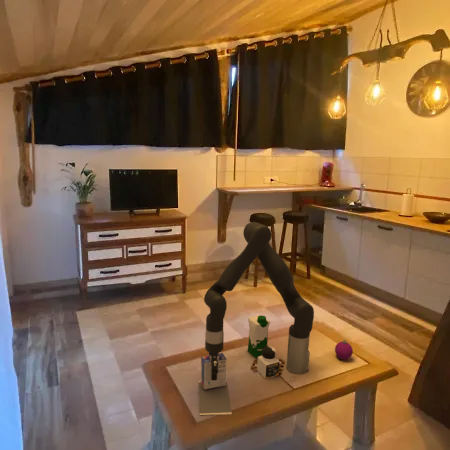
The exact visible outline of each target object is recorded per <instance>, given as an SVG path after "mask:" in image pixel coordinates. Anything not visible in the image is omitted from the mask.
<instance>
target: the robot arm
mask: <svg viewBox="0 0 450 450" xmlns="http://www.w3.org/2000/svg"><path fill="white" fill-rule="evenodd" d="M272 234H273V233H272V231H271V229H270V227H268V226H267V225H264V224H262V223H260V222H256V221H254V222H253V221H252V222H248V223H247V224H246V225H244V229H243V238H244V240H245V241H246V243H247V244H246V246H245V247H244V249H243V250H242V251H241V252H240V254H238V256H237V257H235V258H234V259H232V261H231V262H230V263H229V264H228V265H227V266H226V267H225V269H224V270H223V272H222V273H221V275H220V277H219V278H218V280H216V282H214V283H213V284H212V285H211V286H210V287H209V288H208V290H206V292H205V295H204V297H203V301H204V304H205V305H206V306H207V307H208V308H209V314H207V315H206V318H205V333H204V337H205V339H204V342H205V343H204V349H205V351H206V352H207V353H208V356H209V358H210V362H211V359H212V364H211V363H210V366H211V373H212V376H211V379H212V380H217V374H218V366H219V353H222V352H223V350H224V338H225V337H224V336H225V335H224V334H225V333H224V319H225V315H226V312H227V309H228V308H227V305H228V304H227V300H226V298H225V296H224V294H226V292H232V291H233V290H234V288H236V286H237V285H238V283H239V282H240V280H241V278H242V276H243V275H244V273H245V272H246V270H247V269H248V268H249V267H250V266H251V264H252V263H253V262H254V260H256V258H257V259H258V261H259V263H260V264H261V266H262V268H263V270H264V271H265V273H266V275H267V277H268V278H269V280H270V282H271V283H272V285H273V286H274V288H275V289H276V291H277V292H278V293H279V295H280V297H281V298H282V300H283V302H284V304H285V307H286V309H287V311H288V313H289V315H290V316H291V317H293V318H294V319H293V324H291V325H289V328H288V340H287V354H286V355H287V356H286V365H285V366H286V369H287V370H288V372H290V373H293V374H296V375H297V374H298V375H300V374H304V373H306V372H309V364H310V354H311V353H310V351H309V348H310V336H311V332H312V330H313V324H314V316H315V310H314V307H313V306H312V305H311V304H310V303H309V302H308V301H307V300H306V299H305V298H303V297H302V296H301V295H300V293H299V292H298V290H297V288H296V286H295V284H294V283H295V281H294V277H293V274H292V272H291V270H290V268H289V267H288V264H287V263H286V262H285V261H284V259H283V258H282V257H281V255H279V253H278V252H277V251H275V249H274V248H273V247H272V245H271V244H270V242H271V239H272ZM209 353H211V354H210V355H209Z"/></svg>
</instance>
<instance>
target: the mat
mask: <svg viewBox="0 0 450 450" xmlns="http://www.w3.org/2000/svg"><path fill="white" fill-rule="evenodd" d="M228 387H229V386H228V380H227V379H226V385H224V386H219V387H214V388H209V389H204V388H203V386H202V383H201V380H198V402H199V403H198V404H199V406H198V408H199V416H200V417H202V416H203V417H205V416H207V417H208V416H229V415H230V416H231V415H232V408H231V402H230V401H231V400H230V395H229V394H230V393H229V388H228Z"/></svg>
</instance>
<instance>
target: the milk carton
mask: <svg viewBox="0 0 450 450" xmlns="http://www.w3.org/2000/svg"><path fill="white" fill-rule="evenodd" d="M247 320H248V328H249V329H248V345H247V352H248V354H250V355H251V356H252V357H253V358H254V359H258V357H259V356H262V349H263V348H264V347H266V346H268V340H269V339H268V338H269V327H270V323H271V320H269V319H268V318H267V316H265V315H261V314H258V315H255V316H254V315H253V316H251V317H248V319H247Z"/></svg>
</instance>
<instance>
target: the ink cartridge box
mask: <svg viewBox="0 0 450 450" xmlns="http://www.w3.org/2000/svg"><path fill="white" fill-rule="evenodd" d="M210 354H211V353H209V352H208V355H204V356H201V358H200V359H201V360H200V363H201V365H200V366H201V368H200V369H201V370H200V371H201V372H200V373H201V375H200V376H201V380H200V381H201V383H202V386H203V388H204V389H209V388H214V387H219V386H224V385H226V380H227V360H228V359H227V357H226V356H225V354H224V353H223V352H219V366H218V374H217V380H212V379H211V376H212V373H211V366H210V363H211V364H212V359H211V362H210V358H209V355H210Z"/></svg>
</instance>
